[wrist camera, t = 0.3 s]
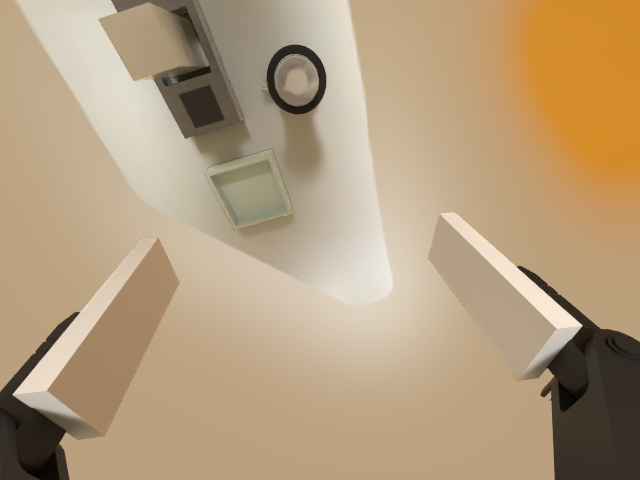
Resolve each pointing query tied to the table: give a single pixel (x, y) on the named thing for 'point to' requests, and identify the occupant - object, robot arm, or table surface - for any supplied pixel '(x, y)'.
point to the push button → (296, 79)
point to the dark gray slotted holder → (196, 79)
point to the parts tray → (250, 189)
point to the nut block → (154, 42)
